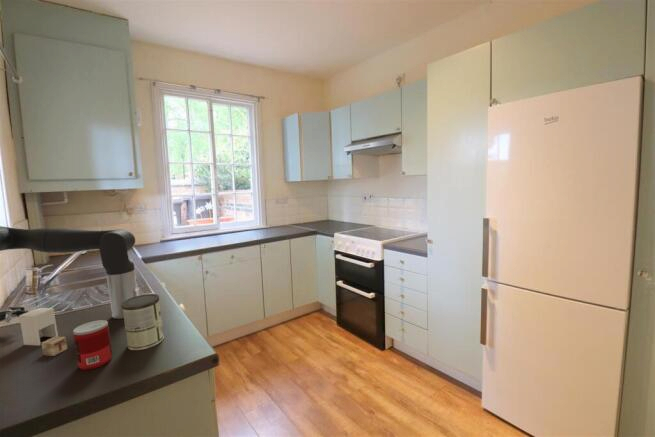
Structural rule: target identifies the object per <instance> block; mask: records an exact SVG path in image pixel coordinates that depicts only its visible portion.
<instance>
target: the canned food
mask: <svg viewBox="0 0 655 437" xmlns="http://www.w3.org/2000/svg"><path fill="white" fill-rule="evenodd" d="M108 322H109V321H107V320H104V319H100V320H99V319H97V320H92V321H89V322H86V323H83V324H81V325H78V326H77V327H75V328H74V329H73V330H72V334H73V335H72V336H73V342H74V347H75V354H76V359H77V360H76V361H77V365H78V368H79V369H80V370H83V371H88V370H89V371H90V370H95V369H97V368H100V367H102V366H104V365H106V364H107V363H109V362H110V361H111V360H112V358H113V349H112V348H113V347H112V342H111V341H112V340H111V334H110V328H109V323H108Z"/></svg>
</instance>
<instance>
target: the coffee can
mask: <svg viewBox="0 0 655 437" xmlns="http://www.w3.org/2000/svg"><path fill="white" fill-rule="evenodd" d="M121 306H122V310H123V317H124V318H123V323H124V330H125V337H126V343H127V349H128V350H130V351H141V350H147V349H150V348H152V347H155V346H157V345H159V344H160V343H161V342H163V340H164V338H165V336H164V329H163V321H162V313H161V304H160V295H158V294H155V293H148V294H147V293H146V294H139V296H136V297H132V298H130V299H127V300H125V301H124V302H122V304H121Z"/></svg>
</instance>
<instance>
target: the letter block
mask: <svg viewBox="0 0 655 437" xmlns="http://www.w3.org/2000/svg"><path fill="white" fill-rule="evenodd" d="M66 338H67V337H66V336H58V337H57V336H55V337H51V338H48V339H47V340H45V341H41V342H40V343H41V349H42V354H43V356H51V357H52V356H53V357H54V356H57V355H59V354H60V353H62V352H65V351H66V350H67V349H68V344H67V339H66Z"/></svg>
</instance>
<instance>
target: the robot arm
mask: <svg viewBox="0 0 655 437" xmlns="http://www.w3.org/2000/svg"><path fill="white" fill-rule="evenodd" d="M135 245H136V237H135V235H134V234H133V233H132V232H131V231H129V230H127V229H121V228H120V229H107V230H105V229H104V230H90V229H89V230H88V229H80V228H79V229H77V228H61V227H45V228H44V227H43V228H42V227H41V228H34V229H31V228H30V229H25V228H17V227H10V226H9V227H8V226H1V225H0V251H7V250H19V249H21V250H22V249H24V250H25V249H28V250H34V251H37V252H42V253H48V254H50V253H52V254H54V253H57V254H59V253H60V254H68V253H76V252H83V251H89V250H99V254H100V259H101V265H102V267H103V268H104V270H105V273H106V280H107V281H106V282H107V288H108V295H109V296H108V297H109V302H110V309H111V317H112V318H113V319H118V320H119V319H124V317H123V310H122V306H121V304H122V302H124V301H125V300H127V299H130V298H132V297H136V296H140V293H139V292H140V291H139V286H138V285H137V277H136V270H135V269H136V268H135V263H134V262H133V261H131V260H130V259H129V254H128V251H130V250H131V249H132V248H133V247H134V246H135ZM27 312H29V311H28V310H25V306H9V307H8V308H7V309H4V310H0V323H1V322H4V321H10V320H12V319H15V318H19V315H22V314H24V313H27ZM7 316H8V317H7Z"/></svg>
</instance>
